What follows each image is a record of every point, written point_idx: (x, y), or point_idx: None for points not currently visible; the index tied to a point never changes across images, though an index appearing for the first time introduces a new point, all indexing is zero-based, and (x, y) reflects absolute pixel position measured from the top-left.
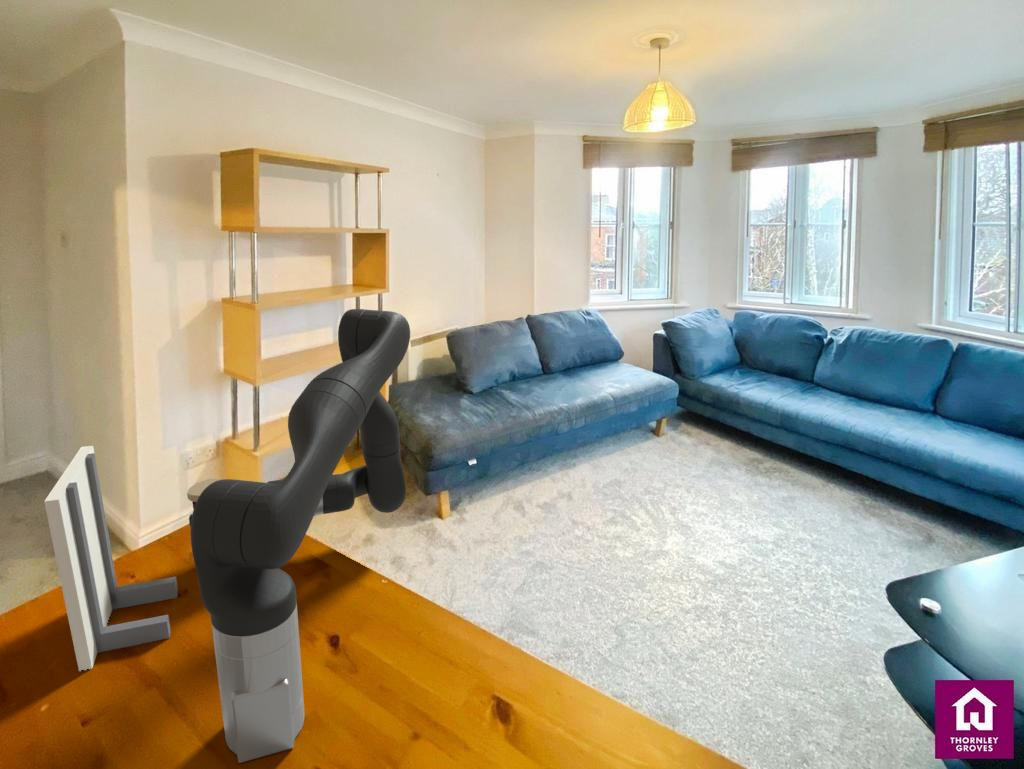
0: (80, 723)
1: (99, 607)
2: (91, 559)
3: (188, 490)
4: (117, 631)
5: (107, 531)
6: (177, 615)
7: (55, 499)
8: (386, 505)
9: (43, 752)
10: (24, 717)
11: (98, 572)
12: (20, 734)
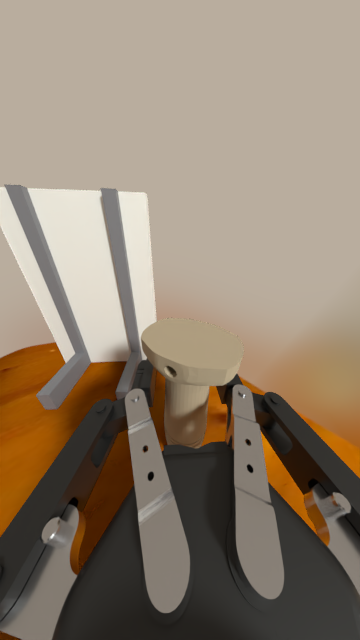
0: (8, 367)
1: (78, 337)
2: (89, 302)
3: (178, 318)
4: (68, 361)
5: (130, 300)
6: (83, 411)
7: None
8: None
9: (6, 357)
10: (53, 345)
11: (107, 321)
12: (39, 347)
